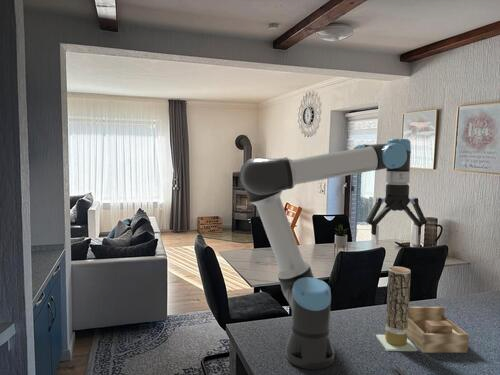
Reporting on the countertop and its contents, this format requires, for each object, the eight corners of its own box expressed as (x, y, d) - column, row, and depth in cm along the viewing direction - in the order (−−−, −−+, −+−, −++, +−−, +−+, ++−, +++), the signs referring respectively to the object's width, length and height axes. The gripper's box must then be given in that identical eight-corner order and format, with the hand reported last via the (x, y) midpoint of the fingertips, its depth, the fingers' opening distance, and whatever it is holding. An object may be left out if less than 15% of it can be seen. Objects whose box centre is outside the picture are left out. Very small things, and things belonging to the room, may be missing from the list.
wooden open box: (423, 352, 120) (424, 325, 119) (402, 330, 135) (403, 306, 134) (467, 352, 121) (469, 325, 120) (442, 330, 136) (443, 306, 135)
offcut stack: (426, 350, 122) (428, 326, 121) (420, 344, 126) (421, 320, 125) (459, 350, 122) (461, 326, 121) (452, 344, 126) (454, 320, 125)
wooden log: (408, 347, 122) (412, 273, 120) (386, 345, 123) (390, 271, 121) (404, 338, 128) (408, 267, 126) (383, 335, 130) (387, 265, 128)
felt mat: (387, 351, 121) (387, 349, 121) (375, 336, 131) (375, 334, 131) (417, 351, 121) (417, 349, 121) (403, 336, 131) (403, 334, 131)
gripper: (364, 184, 126) (362, 246, 127) (439, 184, 125) (436, 246, 127) (358, 182, 133) (356, 241, 135) (428, 183, 133) (426, 241, 134)
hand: (395, 244), depth 131 cm, fingers open, 13 cm apart
